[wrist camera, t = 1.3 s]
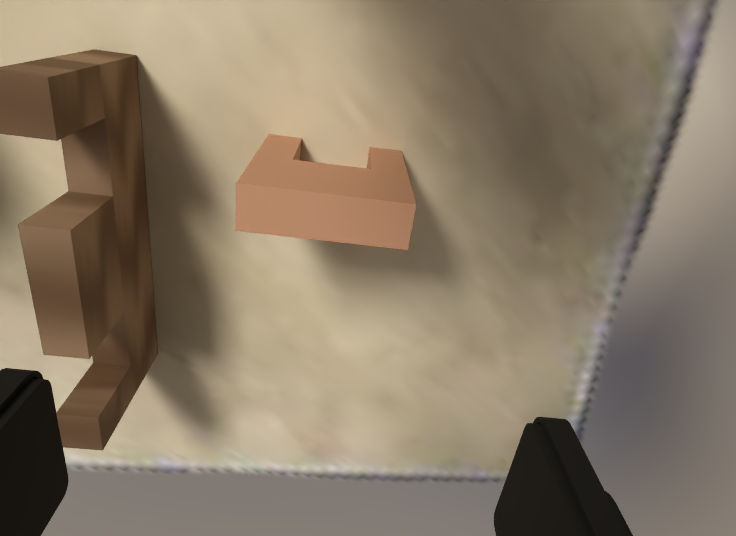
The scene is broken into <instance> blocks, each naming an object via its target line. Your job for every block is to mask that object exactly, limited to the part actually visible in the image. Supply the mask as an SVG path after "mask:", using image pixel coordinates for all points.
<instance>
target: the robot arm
mask: <svg viewBox="0 0 736 536" xmlns="http://www.w3.org/2000/svg"><path fill="white" fill-rule="evenodd" d="M67 486H68V473H67V468H66V463H65V457H64V452H63V446H62V441H61V436H60V430H59V425H58V420H57V414H56V409H55V404H54V398H53V393H52V387H51V384H50V382H49V381H48V380H44V379H43V377H42V374H41V373H40V372H38V371H31V370H21V369H10V368H5V369H2V370H1V371H0V536H41V534H42V532H43V531H44V529H45V527H46V526H47V524H48V522H49V521H50V519H51V517H52V516H53V514H54V513H55V511H56V509H57V507H58V506H59V504H60V502H61V501H62V499H63V497H64V495H65V493H66V490H67ZM494 527H495V532H496V536H633V535H632V533H631V531H630V529H629V527H628V525H627V524H626V522H625V520H624V518H623V516H622V514H621V512H620V510H619V508H618V506H617V504H616V503H615V501H614V500H613V498H612V497H611V495H610V494H608V493H607V492H606V491H604V489H603V487H602V485H601V483H600V481H599V479H598V477H597V475H596V473H595V471H594V469H593V467H592V465H591V463H590V461H589V460H588V458H587V456H586V454H585V452H584V450H583V448H582V446H581V444H580V442H579V440H578V438H577V436H576V434H575V432H574V430H573V428H572V426H571V424H570V423H569V421H567V420H566V419H557V418H546V417H537V418H536V419H535V420H534V422H533V424H532V423H528V424H527V425H526V426H525V428H524V431H523V434H522V437H521V439H520V442H519V445H518V448H517V450H516V453H515V456H514V459H513V462H512V464H511V467H510V470H509V473H508V476H507V478H506V481H505V484H504V487H503V490H502V492H501V495H500V498H499V501H498V504H497V506H496V509H495V513H494Z"/></svg>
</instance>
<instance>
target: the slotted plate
mask: <svg viewBox="0 0 736 536" xmlns="http://www.w3.org/2000/svg"><path fill="white" fill-rule="evenodd" d="M300 153H301V138H294V137H286V136H278V135H270V134H269V135H268V136H267V138H266V139H265V141H264V142H263V144H262V145H261V147H260V148H259V150H258V151H257V153H256V154H255V156H254V157H253V159H252V160H251V162H250V163H249V165H248V166H247V168H246V169H245V171H244V172H243V174H242V175H241V177H240V178H239V180H238V181H237V183H236V231H243V232H252V233H261V234H270V235H279V236H287V237H296V238H305V239H314V240H323V241H332V242H341V243H349V244H358V245H367V246H376V247H385V248H394V249H403V250H408V247H409V242H410V237H411V231H412V226H413V220H414V215H415V210H416V201H415V197H414V194H413V190H412V187H411V183H410V180H409V176H408V173H407V169H406V165H405V162H404V158H403V155H402V151H396V150H388V149H380V148H372V147H370V149H369V157H368V164H367V169H365V168H357V167H349V166H340V165H332V164H324V163H316V162H308V161H300Z"/></svg>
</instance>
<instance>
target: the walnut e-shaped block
mask: <svg viewBox="0 0 736 536" xmlns="http://www.w3.org/2000/svg"><path fill="white" fill-rule="evenodd" d="M0 134H7V135H15V136H24V137H32V138H40V139H48V140H56V141H57V140H59V139H61V141H62V148H63V155H64V162H65V169H66V176H67V183H68V190H69V191H68V192H67V193H65V194H64V195H62V196H61V197H59V198H58V199H56V200H55V201H53V202H52V203H50V204H49V205H47V206H46V207H44V208H42V209H41V210H39V211H38V212H36V213H35V214H33V215H32V216H30V217H29V218H27V219H26V220H24V221H23V222H21V223H20V224H18V228H19V233H20V238H21V243H22V248H23V253H24V258H25V263H26V268H27V273H28V279H29V284H30V289H31V294H32V299H33V304H34V309H35V314H36V319H37V324H38V329H39V334H40V339H41V344H42V349H43V354H44V355H52V356H63V357H74V358H85V359H90V357H91V356H93V364H92V365H91V367H90V368H89V369H88V371H87V372H86V373H85V375H84V376H83V377H82V379H81V380H80V382H79V383H78V384H77V386H76V387H75V388H74V390H73V391H72V392H71V394H70V395H69V397H68V398H67V399H66V401H65V402H64V403H63V405H62V406H61V407H60V409H59V410H58V412H57V413H56V414H57V420H58V425H59V430H60V436H61V441H62V446H63V447H68V448H80V449H93V450H103V449H104V447H105V446H106V444H107V442H108V440H109V439H110V437H111V435H112V433H113V432H114V430H115V428H116V426H117V424H118V423H119V421H120V419H121V417H122V416H123V414H124V412H125V410H126V409H127V407H128V405H129V403H130V402H131V400H132V398H133V396H134V395H135V393H136V391H137V389H138V388H139V386H140V384H141V382H142V381H143V379H144V377H145V375H146V374H147V372H148V370H149V368H150V367H151V365H152V363H153V361H154V359H155V358H156V356H157V354H158V350H157V336H156V322H155V308H154V294H153V280H152V266H151V252H150V238H149V224H148V210H147V196H146V182H145V168H144V154H143V140H142V126H141V111H140V97H139V83H138V69H137V55H130V54H123V53H115V52H108V51H101V50H89V51H84V52H78V53H73V54H68V55H62V56H57V57H51V58H46V59H41V60H35V61H30V62H25V63H19V64H14V65H8V66H3V67H0Z"/></svg>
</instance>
